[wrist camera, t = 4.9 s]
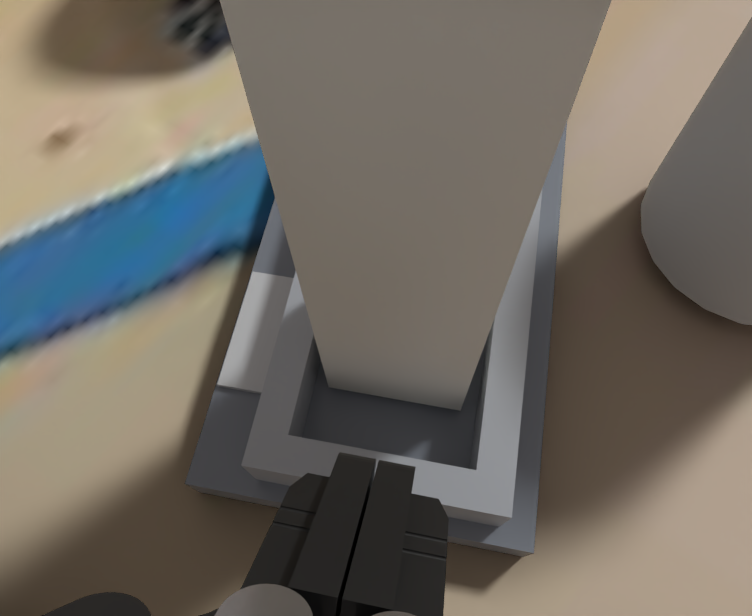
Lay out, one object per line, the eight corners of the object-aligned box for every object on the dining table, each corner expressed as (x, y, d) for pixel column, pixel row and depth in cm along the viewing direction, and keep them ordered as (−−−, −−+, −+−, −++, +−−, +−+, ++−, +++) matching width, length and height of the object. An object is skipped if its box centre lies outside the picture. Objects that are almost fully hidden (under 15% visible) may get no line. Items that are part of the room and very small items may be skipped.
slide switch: (522, 556, 18) (550, 547, 15) (199, 491, 19) (161, 470, 16) (562, 82, 26) (586, 11, 23) (332, 53, 27) (324, -19, 24)
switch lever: (466, 418, 18) (676, -91, 5) (320, 392, 19) (146, -141, 5) (479, 315, 20) (671, -298, 6) (344, 293, 20) (255, -324, 7)
